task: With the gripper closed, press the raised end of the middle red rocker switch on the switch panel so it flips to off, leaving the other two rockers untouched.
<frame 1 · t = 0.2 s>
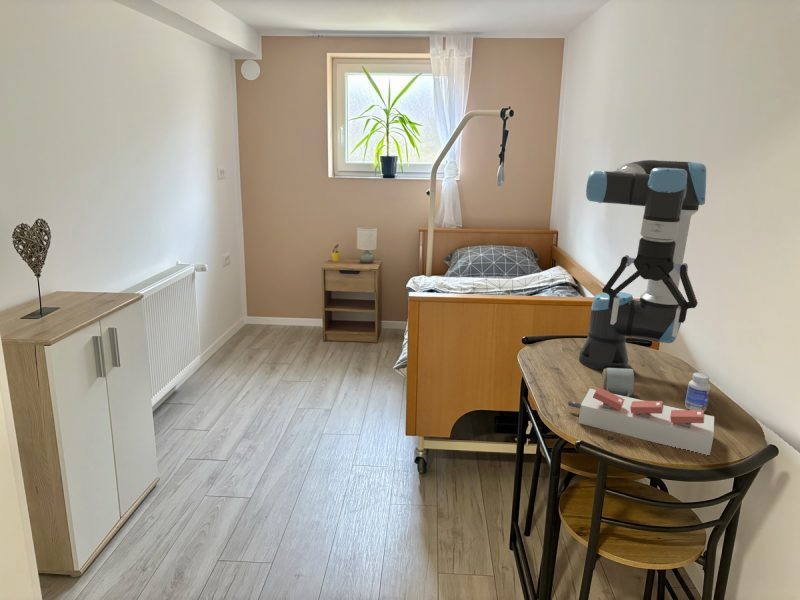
hand: (643, 329, 137), 28 cm above the table, tool pointing down, fingers open, 13 cm apart
switch panel: (643, 428, 148), on the table
rocker 2: (646, 407, 144), point 7 cm above the table, hinge at 15.0°
ceramic mug: (617, 396, 168), on the table
rocker 3: (687, 416, 140), point 7 cm above the table, hinge at 15.0°
pill bottle: (695, 408, 161), on the table
rocker 1: (608, 398, 148), point 7 cm above the table, hinge at -15.0°
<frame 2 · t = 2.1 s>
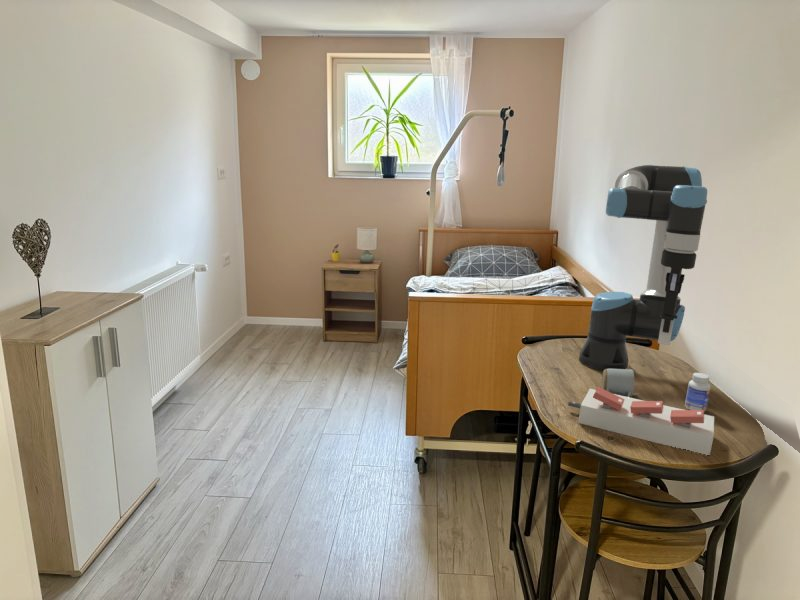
hand: (663, 343, 147), 21 cm above the table, tool pointing down, fingers closed
nothing on the table moved.
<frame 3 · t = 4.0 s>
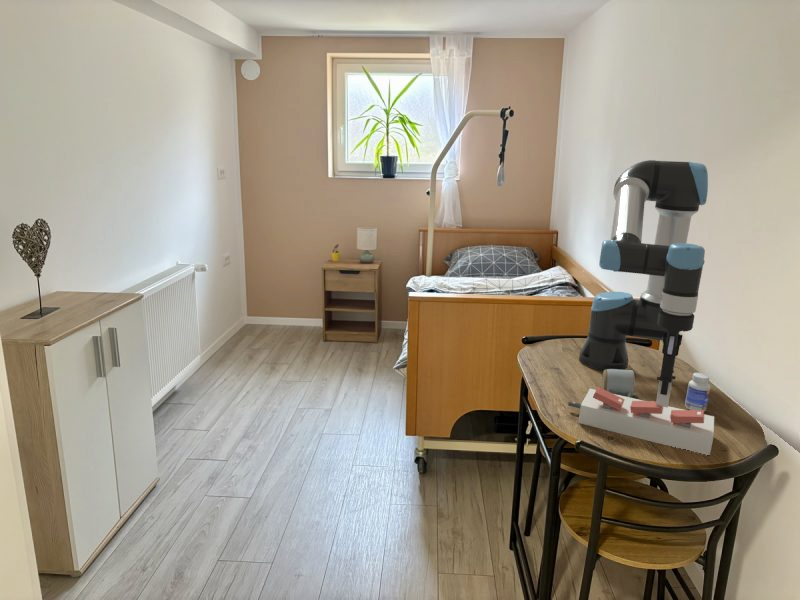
hand: (661, 405, 142), 9 cm above the table, tool pointing down, fingers closed
rocker 2: (646, 407, 144), point 7 cm above the table, hinge at 13.5°, touching gripper
everything else where it was.
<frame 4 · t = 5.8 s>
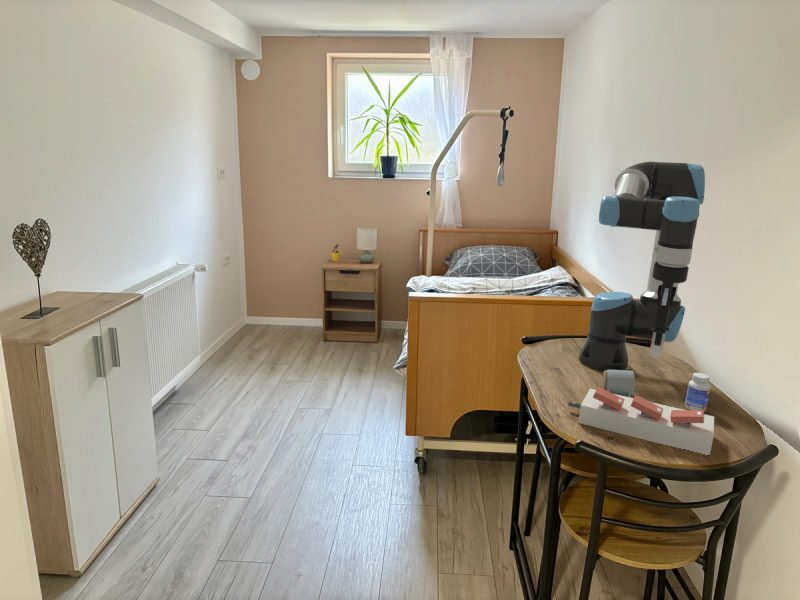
hand: (655, 355, 146), 19 cm above the table, tool pointing down, fingers closed
rocker 2: (646, 407, 144), point 7 cm above the table, hinge at -15.9°
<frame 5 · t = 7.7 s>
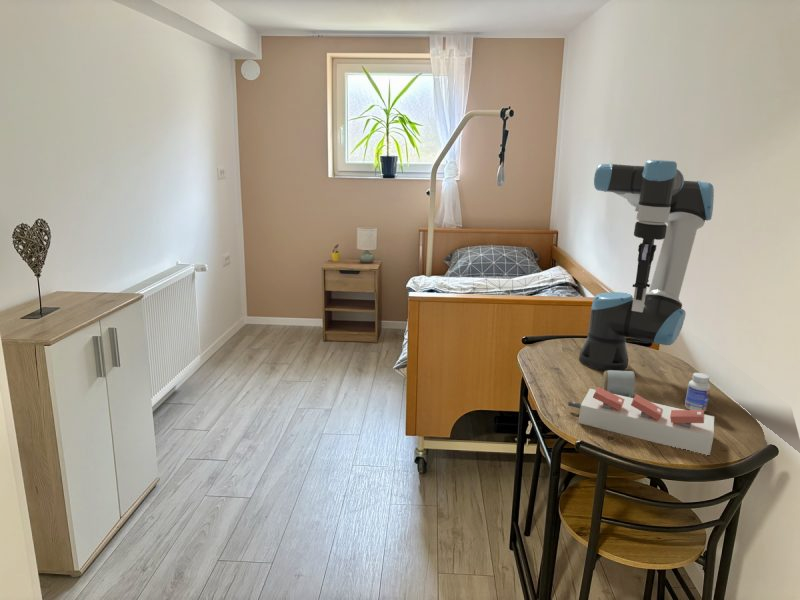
hand: (637, 310, 156), 26 cm above the table, tool pointing down, fingers closed
rocker 2: (646, 407, 144), point 7 cm above the table, hinge at -19.5°, touching switch panel
at the end: rocker 2 at -19° (first picture: +15°); rocker 1 at -15° (first picture: -15°); rocker 3 at +15° (first picture: +15°) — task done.
